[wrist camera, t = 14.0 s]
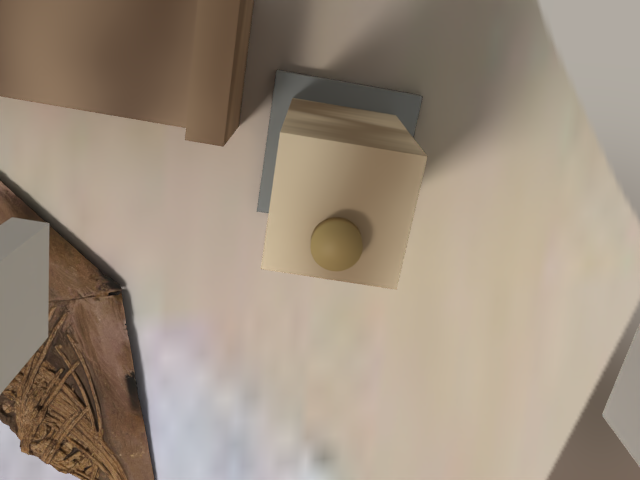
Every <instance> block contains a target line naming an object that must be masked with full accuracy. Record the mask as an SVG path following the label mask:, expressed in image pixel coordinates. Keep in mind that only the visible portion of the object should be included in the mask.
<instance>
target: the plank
mask: <svg viewBox="0 0 640 480" xmlns="http://www.w3.org/2000/svg"><path fill="white" fill-rule="evenodd" d="M253 5H254V0H0V96H2V97H8V98H14V99H20V100H25V101H31V102H37V103H43V104H49V105H55V106H61V107H66V108H72V109H78V110H84V111H90V112H96V113H102V114H107V115H113V116H119V117H125V118H131V119H137V120H143V121H148V122H154V123H160V124H166V125H172V126H178V127H184V128H186V134H185V140H188V141H194V142H200V143H206V144H212V145H218V146H224V145H225V144H226V142H227V141H228V140H229V138H230V137H231V136H232V135H233V133H234V132H235V131H236V129H237V128H238V127H239V119H240V111H241V103H242V95H243V87H244V78H245V70H246V62H247V54H248V46H249V38H250V29H251V21H252V13H253Z"/></svg>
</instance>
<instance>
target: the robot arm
mask: <svg viewBox="0 0 640 480" xmlns="http://www.w3.org/2000/svg"><path fill="white" fill-rule="evenodd" d="M48 307H49V223H45V222H39V221H32V220H26V219H20V218H13V217H12V218H10V219H9V220H7V221H6V222H4V223H3V224H1V225H0V394H1V393H2V392H3V391H4V389H5V388H6V387H7V386H8V385H9V383H10V382H11V381H12V380H13V379H14V377H15V376H16V375H17V374H18V373H19V371H20V370H21V369H22V368H23V367H24V365H25V364H26V363H27V362H28V361H29V359H30V358H31V357H32V356H33V355H34V353H35V352H36V351H37V350H38V349H39V347H40V346H41V345H42V344H43V343H44V341H45V340H46V339H47V338H48ZM602 416H603V417H604V418H605V420H606V421H607V423H608V424H609V425H610V427H611V428H612V429H613V431H614V432H615V434H616V435H617V436H618V438H619V439H620V441H621V442H622V443H623V445H624V446H625V447H626V449H627V450H628V451H629V453H630V454H631V456H632V457H633V458H634V460H635V461H636V462H637V464H638V465H639V466H640V324H639V326H638V329H637V331H636V333H635V336H634V338H633V341H632V343H631V346H630V348H629V351H628V353H627V356H626V358H625V360H624V363H623V365H622V368H621V370H620V372H619V375H618V378H617V380H616V382H615V385H614V387H613V390H612V392H611V395H610V397H609V399H608V402H607V404H606V407H605V409H604V412H603V414H602Z"/></svg>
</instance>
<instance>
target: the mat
mask: <svg viewBox="0 0 640 480" xmlns="http://www.w3.org/2000/svg"><path fill="white" fill-rule="evenodd" d="M292 98H297V99H303V100H309V101H315V102H321V103H327V104H333V105H338V106H344V107H350V108H356V109H362V110H368V111H374V112H380V113H386V114H392V115H396V116H397V117H398V119H399V120H400V121H401V123H402V124H403V125H404V127H405V128H406V129H407V130H408V132H409V133H410V134H411V136H412V137H414V133H415V128H416V124H417V119H418V115H419V111H420V106H421V102H422V98H423V97H422V96H421V95H417V94H411V93H405V92H400V91H394V90H389V89H383V88H377V87H372V86H366V85H360V84H355V83H349V82H344V81H338V80H332V79H327V78H321V77H316V76H310V75H304V74H299V73H293V72H287V71H282V70H277V71H276V78H275V86H274V93H273V100H272V107H271V114H270V121H269V128H268V135H267V142H266V150H265V157H264V164H263V171H262V178H261V185H260V192H259V199H258V207H257V212H264V213H269V207H270V200H271V193H272V186H273V179H274V172H275V165H276V157H277V150H278V143H279V136H280V131H281V128H282V126H283V123H284V120H285V117H286V115H287V112H288V109H289V106H290V104H291V101H292Z"/></svg>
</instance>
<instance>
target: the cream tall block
mask: <svg viewBox="0 0 640 480" xmlns="http://www.w3.org/2000/svg"><path fill="white" fill-rule="evenodd" d="M426 161H427V155H426V154H425V153H424V151H423V150H422V149H421V147H420V146H419V145H418V143H417V142H416V141H415V140H414V138H413V137H412V136H411V134H410V133H409V132H408V130H407V129H406V128H405V127H404V125H403V124H402V123H401V121H400V120H399V119H398V117H397V116H396V115H392V114H386V113H380V112H374V111H368V110H362V109H356V108H350V107H344V106H338V105H333V104H327V103H321V102H315V101H309V100H303V99H297V98H292V101H291V104H290V106H289V109H288V112H287V115H286V117H285V120H284V123H283V126H282V128H281V131H280V136H279V143H278V150H277V157H276V165H275V172H274V179H273V186H272V193H271V200H270V207H269V214H268V221H267V228H266V235H265V243H264V250H263V257H262V264H261V269H264V270H271V271H277V272H284V273H290V274H297V275H304V276H310V277H317V278H323V279H330V280H337V281H343V282H350V283H356V284H363V285H369V286H376V287H383V288H389V289H397V285H398V281H399V277H400V272H401V268H402V264H403V260H404V255H405V251H406V247H407V242H408V238H409V234H410V230H411V225H412V221H413V217H414V212H415V208H416V204H417V200H418V195H419V191H420V187H421V183H422V178H423V174H424V170H425V165H426Z"/></svg>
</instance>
